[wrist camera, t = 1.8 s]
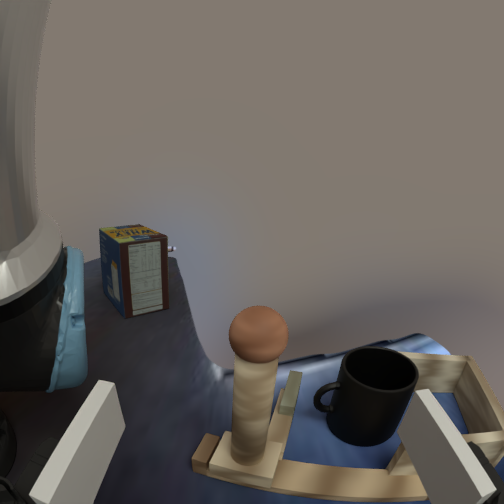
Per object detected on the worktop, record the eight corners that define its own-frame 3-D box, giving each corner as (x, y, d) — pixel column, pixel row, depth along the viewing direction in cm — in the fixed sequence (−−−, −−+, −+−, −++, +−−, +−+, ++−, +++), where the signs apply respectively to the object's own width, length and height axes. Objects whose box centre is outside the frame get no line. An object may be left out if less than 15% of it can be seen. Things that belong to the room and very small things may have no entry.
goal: (385, 480, 23) (406, 447, 22) (377, 383, 41) (387, 350, 39) (491, 471, 20) (516, 437, 18) (458, 386, 37) (471, 356, 36)
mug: (301, 401, 37) (312, 346, 35) (382, 396, 38) (400, 344, 35) (312, 453, 28) (329, 397, 26) (405, 441, 29) (432, 386, 26)
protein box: (141, 285, 73) (139, 223, 69) (170, 309, 62) (168, 235, 58) (102, 292, 66) (98, 227, 62) (124, 319, 55) (118, 241, 52)
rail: (193, 471, 25) (191, 458, 24) (206, 446, 29) (206, 432, 28) (436, 499, 19) (447, 486, 18) (432, 473, 23) (441, 460, 22)
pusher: (210, 478, 24) (206, 315, 19) (252, 387, 39) (263, 254, 35) (272, 493, 23) (305, 332, 18) (297, 396, 38) (319, 261, 33)
